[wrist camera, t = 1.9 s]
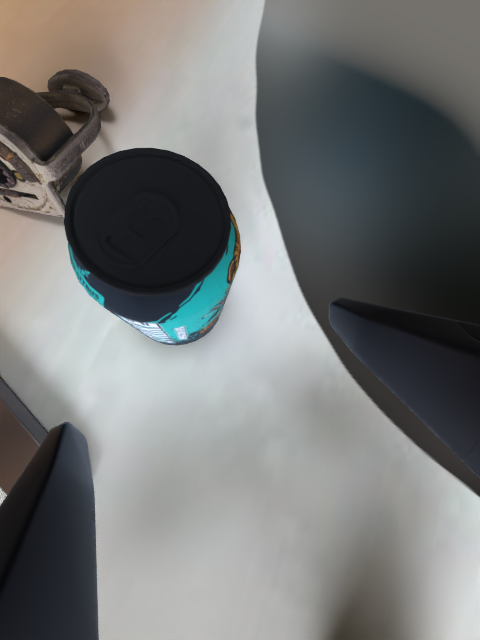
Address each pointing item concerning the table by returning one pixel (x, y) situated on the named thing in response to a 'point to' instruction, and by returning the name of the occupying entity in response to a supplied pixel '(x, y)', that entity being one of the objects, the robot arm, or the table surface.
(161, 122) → the table surface
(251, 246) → the table surface
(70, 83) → the mechanical counter
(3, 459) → the brown box
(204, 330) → the beverage can
